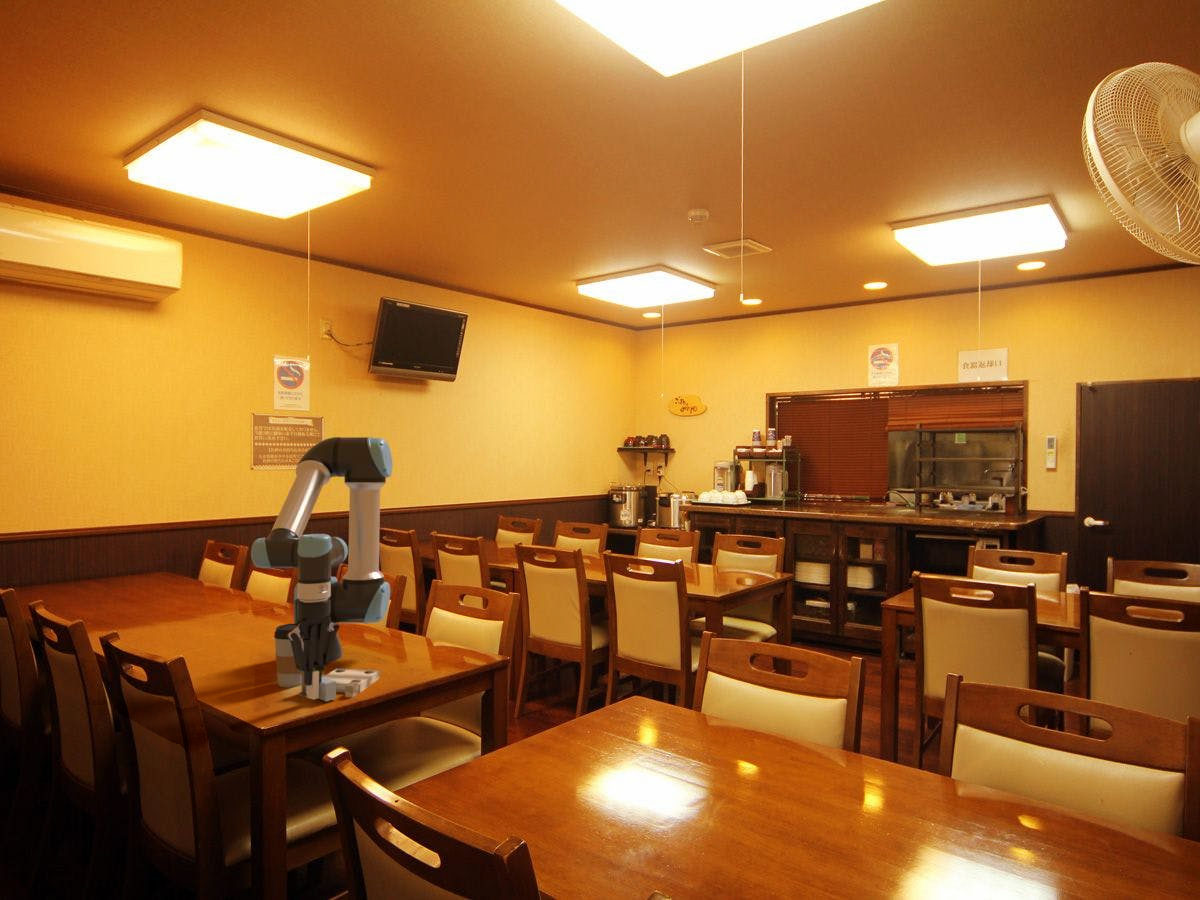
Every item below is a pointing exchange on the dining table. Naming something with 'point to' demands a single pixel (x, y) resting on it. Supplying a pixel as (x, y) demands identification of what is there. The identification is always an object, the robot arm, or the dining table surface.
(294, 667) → the coffee cup
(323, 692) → the leg bar
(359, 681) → the seat panel
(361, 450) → the robot arm
